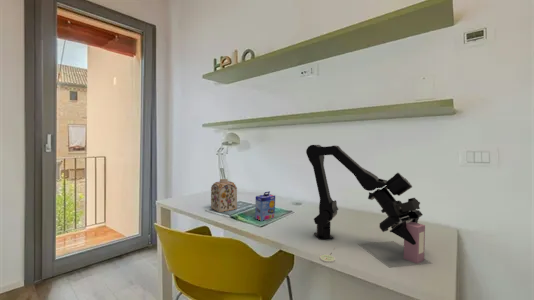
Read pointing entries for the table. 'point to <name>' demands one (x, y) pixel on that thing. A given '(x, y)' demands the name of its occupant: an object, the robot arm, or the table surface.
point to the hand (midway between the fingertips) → (418, 242)
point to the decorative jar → (223, 196)
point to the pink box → (417, 250)
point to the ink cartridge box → (265, 207)
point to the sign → (327, 258)
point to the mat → (389, 253)
